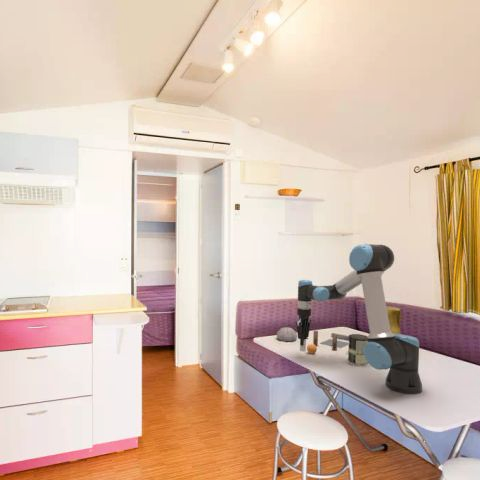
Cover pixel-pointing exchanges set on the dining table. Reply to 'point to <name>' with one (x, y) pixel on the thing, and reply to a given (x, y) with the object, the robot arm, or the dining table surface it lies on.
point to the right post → (334, 342)
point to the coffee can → (357, 349)
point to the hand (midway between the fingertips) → (302, 350)
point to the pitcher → (394, 319)
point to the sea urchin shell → (286, 334)
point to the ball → (311, 348)
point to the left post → (315, 338)
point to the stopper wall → (341, 336)
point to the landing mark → (339, 343)
